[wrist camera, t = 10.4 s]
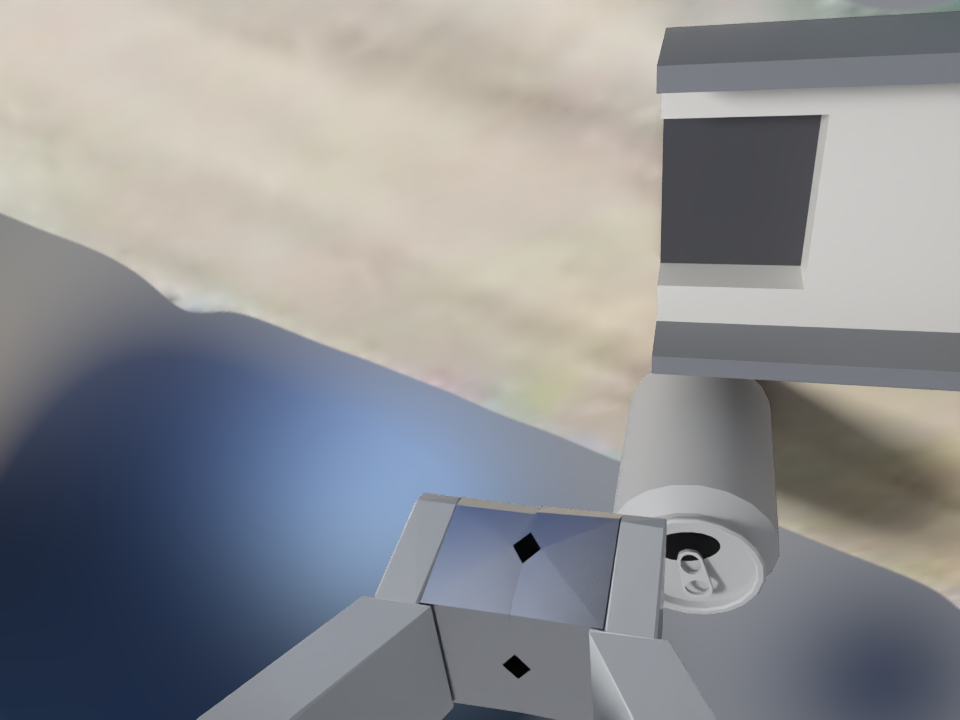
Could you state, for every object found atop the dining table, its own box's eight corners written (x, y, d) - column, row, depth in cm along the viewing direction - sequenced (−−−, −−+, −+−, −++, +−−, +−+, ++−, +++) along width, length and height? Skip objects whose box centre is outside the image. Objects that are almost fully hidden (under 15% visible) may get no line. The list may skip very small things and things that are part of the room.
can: (755, 336, 40) (763, 505, 31) (782, 444, 44) (796, 625, 35) (614, 361, 44) (584, 521, 34) (650, 460, 47) (631, 629, 38)
